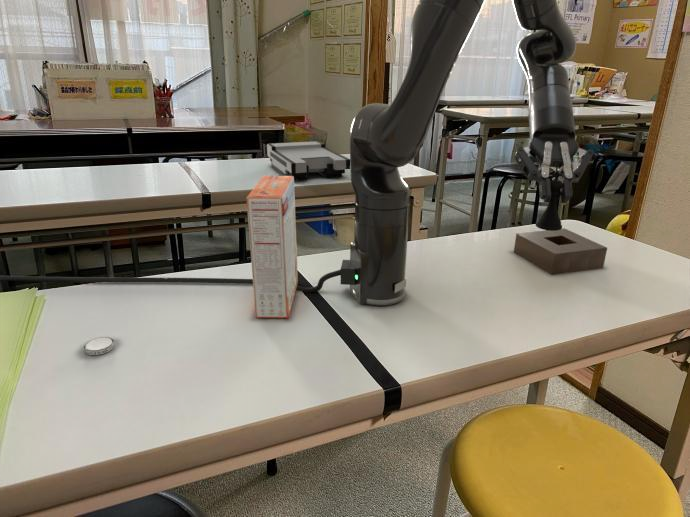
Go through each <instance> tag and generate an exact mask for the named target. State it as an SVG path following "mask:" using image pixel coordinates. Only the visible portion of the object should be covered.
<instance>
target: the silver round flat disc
mask: <svg viewBox="0 0 690 517" xmlns="http://www.w3.org/2000/svg"><path fill="white" fill-rule="evenodd" d="M83 348H84V349H83V350H84V353H85V354H86V355H89V356H97V355H102V354H106V353H108V352H110V351H111V350H113V349H114V348H115V341H114V339H113V338H112V337H109V336H100V337H96V338H92V339H90V340H89V341H87V342H86V343H85V344H84V345H83Z"/></svg>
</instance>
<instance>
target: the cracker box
mask: <svg viewBox="0 0 690 517" xmlns="http://www.w3.org/2000/svg"><path fill="white" fill-rule="evenodd" d="M295 192H296V191H295V181H294V176H283V175H275V174H274V175H273V174H272V175H262V176H261V178H260V179H259V180H258V182H257V183H256V185H255V186H254V187H253V189H252V190H251V191H250V192H249V194H248V195H247V196H246V209H247V223H248V224H247V225H248V233H249V234H248V236H249V247H250V260H251V261H250V262H251V274H252V279H253V284H252V288H253V298H254V312H255V318H256V319H289V318H290V315H291V312H292V307H293V303H294V299H295V295H296V291H297V290H296V288H297V286H298V285H299V284H298V283H299V276H298V274H299V272H298V248H297V224H296V223H297V221H296V198H295V196H296V194H295Z"/></svg>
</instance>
